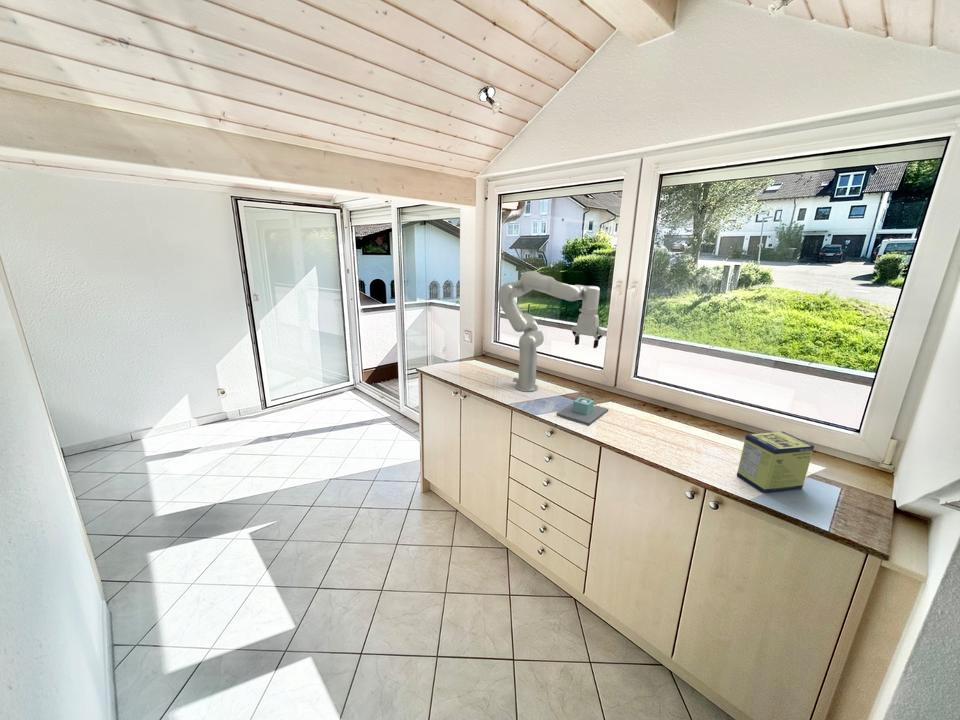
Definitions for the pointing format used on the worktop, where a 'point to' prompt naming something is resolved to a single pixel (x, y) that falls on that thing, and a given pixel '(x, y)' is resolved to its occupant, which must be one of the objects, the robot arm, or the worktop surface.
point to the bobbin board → (582, 418)
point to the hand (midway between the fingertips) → (585, 346)
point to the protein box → (774, 461)
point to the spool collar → (583, 406)
